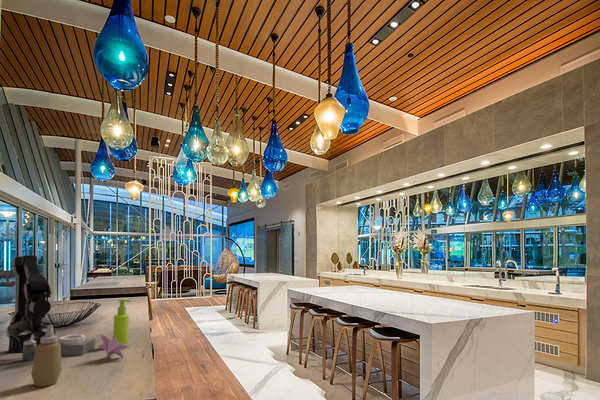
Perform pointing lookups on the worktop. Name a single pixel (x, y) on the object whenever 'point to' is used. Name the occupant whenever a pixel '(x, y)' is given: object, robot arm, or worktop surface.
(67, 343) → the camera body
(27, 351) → the grey block
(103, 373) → the worktop surface
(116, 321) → the soap dispenser
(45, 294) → the robot arm
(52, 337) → the squeeze bottle
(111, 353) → the lily
